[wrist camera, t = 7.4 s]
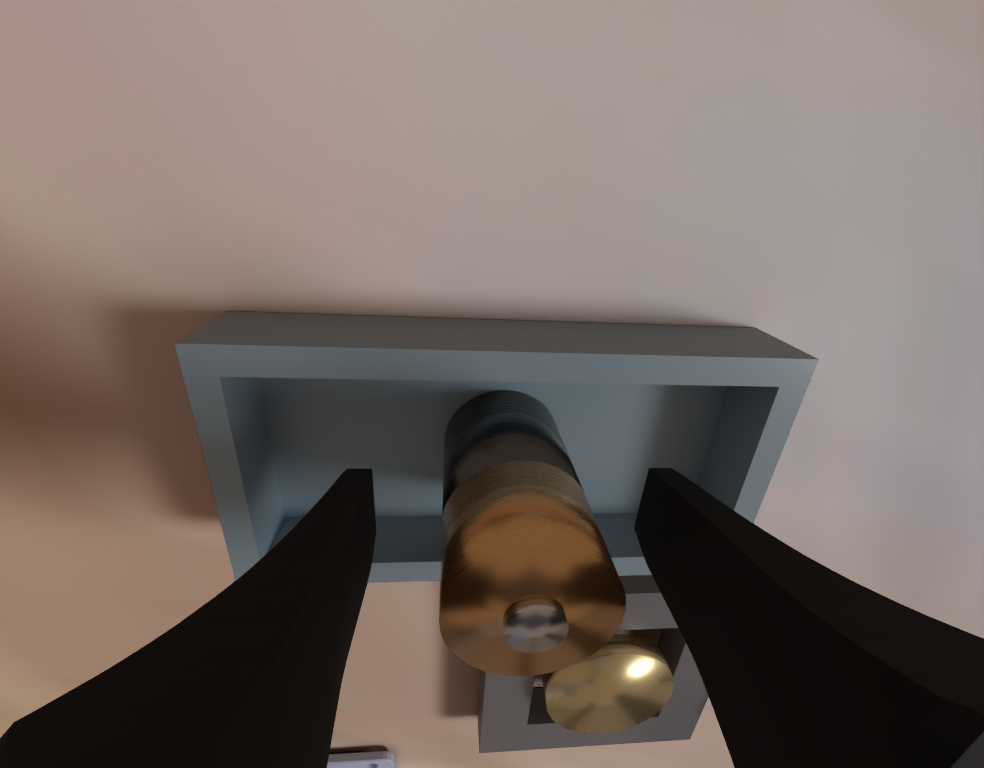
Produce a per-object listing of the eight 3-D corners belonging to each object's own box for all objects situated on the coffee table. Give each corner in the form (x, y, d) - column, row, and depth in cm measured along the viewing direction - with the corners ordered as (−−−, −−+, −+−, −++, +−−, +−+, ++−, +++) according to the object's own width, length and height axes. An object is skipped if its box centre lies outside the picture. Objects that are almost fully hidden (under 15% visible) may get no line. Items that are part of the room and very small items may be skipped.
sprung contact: (536, 716, 19) (540, 737, 19) (550, 637, 17) (554, 657, 16) (650, 709, 20) (658, 729, 19) (678, 632, 18) (688, 651, 17)
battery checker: (477, 716, 21) (481, 794, 19) (488, 564, 17) (495, 637, 14) (758, 700, 23) (800, 771, 20) (833, 556, 19) (898, 621, 16)
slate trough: (269, 523, 15) (237, 585, 13) (227, 310, 12) (174, 343, 10) (694, 517, 17) (733, 572, 15) (756, 327, 14) (818, 359, 11)
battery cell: (444, 487, 15) (439, 696, 9) (444, 389, 13) (438, 564, 7) (551, 485, 15) (614, 686, 9) (563, 390, 13) (649, 557, 8)
